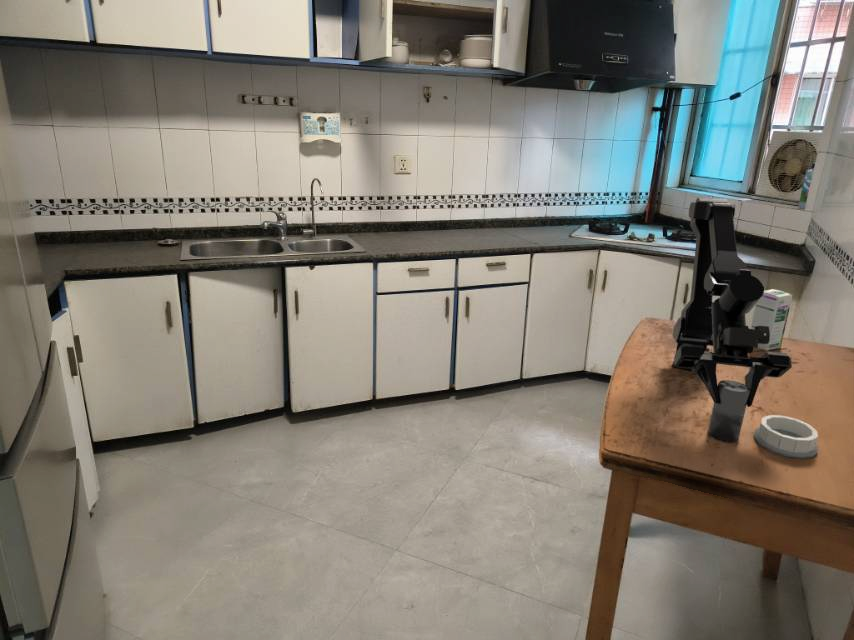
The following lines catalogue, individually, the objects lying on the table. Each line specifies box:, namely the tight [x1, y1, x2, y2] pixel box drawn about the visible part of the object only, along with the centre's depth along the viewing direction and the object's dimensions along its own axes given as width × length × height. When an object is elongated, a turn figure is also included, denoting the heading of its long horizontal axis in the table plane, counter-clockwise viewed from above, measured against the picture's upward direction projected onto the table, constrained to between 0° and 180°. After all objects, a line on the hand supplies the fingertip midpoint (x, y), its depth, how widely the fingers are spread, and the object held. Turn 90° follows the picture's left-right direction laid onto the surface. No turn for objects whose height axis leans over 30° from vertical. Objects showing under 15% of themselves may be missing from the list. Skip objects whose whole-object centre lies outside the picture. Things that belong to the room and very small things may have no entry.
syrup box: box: [749, 288, 793, 352], centre depth 151 cm, size 6×6×14 cm
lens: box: [707, 379, 750, 443], centre depth 108 cm, size 5×5×10 cm
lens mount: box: [753, 414, 819, 459], centre depth 107 cm, size 10×10×3 cm
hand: (732, 404), depth 106 cm, fingers closed on lens, 5 cm apart
